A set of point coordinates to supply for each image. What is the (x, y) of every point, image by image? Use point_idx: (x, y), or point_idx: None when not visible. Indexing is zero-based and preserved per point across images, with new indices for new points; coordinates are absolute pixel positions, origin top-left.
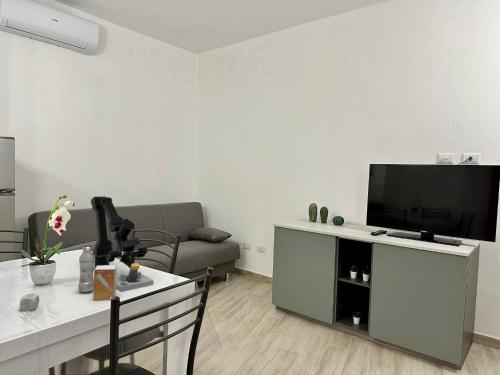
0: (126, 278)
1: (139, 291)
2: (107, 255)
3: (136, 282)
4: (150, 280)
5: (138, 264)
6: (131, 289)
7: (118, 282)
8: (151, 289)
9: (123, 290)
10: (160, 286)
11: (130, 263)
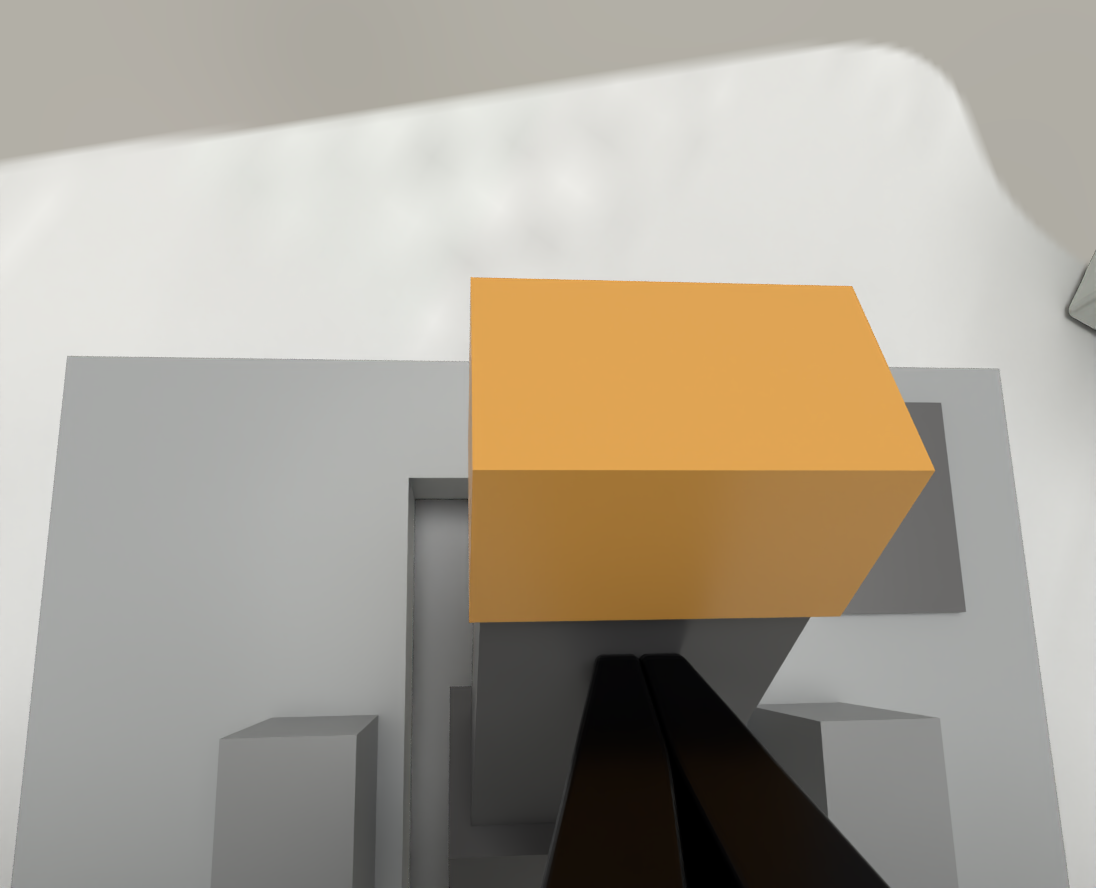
0: None
1: (608, 193)
2: None
3: None
4: (149, 385)
5: (501, 353)
6: None
7: (946, 749)
8: (342, 146)
9: None
10: (62, 191)
11: (820, 880)
